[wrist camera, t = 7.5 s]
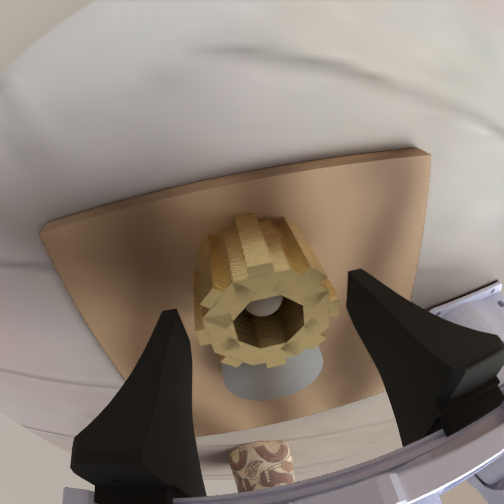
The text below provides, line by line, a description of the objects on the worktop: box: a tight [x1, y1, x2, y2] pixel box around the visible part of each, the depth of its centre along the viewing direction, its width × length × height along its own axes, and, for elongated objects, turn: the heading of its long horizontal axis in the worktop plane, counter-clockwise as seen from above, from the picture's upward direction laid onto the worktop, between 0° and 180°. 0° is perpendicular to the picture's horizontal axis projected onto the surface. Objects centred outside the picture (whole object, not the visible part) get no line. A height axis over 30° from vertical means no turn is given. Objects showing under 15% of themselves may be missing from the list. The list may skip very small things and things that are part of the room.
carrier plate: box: [39, 148, 431, 437], centre depth 19 cm, size 20×22×5 cm
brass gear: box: [193, 212, 340, 368], centre depth 14 cm, size 6×6×4 cm
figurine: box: [229, 441, 295, 493], centre depth 27 cm, size 7×7×12 cm
